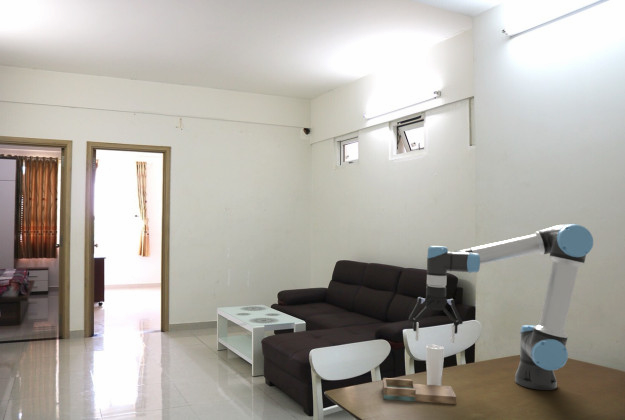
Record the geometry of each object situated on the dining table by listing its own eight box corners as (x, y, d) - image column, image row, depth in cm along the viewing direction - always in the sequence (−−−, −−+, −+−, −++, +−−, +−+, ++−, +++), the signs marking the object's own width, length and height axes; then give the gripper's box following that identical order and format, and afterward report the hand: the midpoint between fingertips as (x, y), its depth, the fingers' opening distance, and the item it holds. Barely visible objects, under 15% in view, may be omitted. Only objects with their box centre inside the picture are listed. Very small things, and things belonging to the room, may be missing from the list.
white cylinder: (443, 384, 191) (444, 345, 191) (442, 389, 184) (443, 349, 185) (426, 381, 193) (427, 343, 193) (424, 387, 187) (425, 347, 187)
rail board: (450, 392, 181) (450, 382, 181) (456, 403, 170) (456, 392, 170) (382, 388, 184) (382, 377, 184) (383, 399, 173) (384, 387, 173)
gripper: (467, 286, 192) (465, 340, 192) (403, 283, 195) (401, 336, 194) (471, 288, 185) (469, 345, 184) (404, 285, 187) (402, 341, 187)
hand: (434, 340), depth 189 cm, fingers open, 13 cm apart
